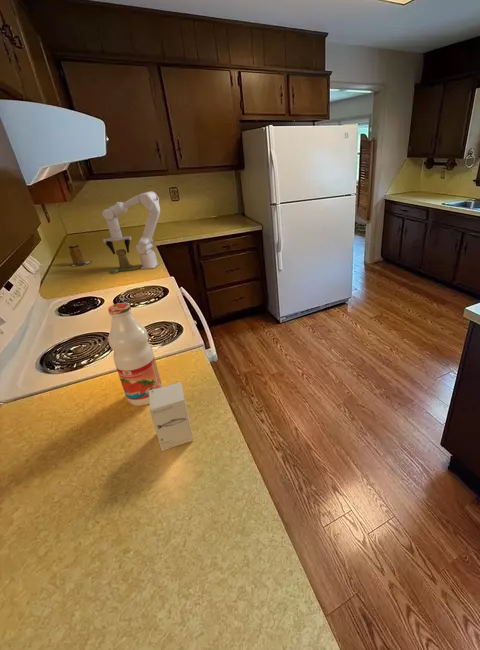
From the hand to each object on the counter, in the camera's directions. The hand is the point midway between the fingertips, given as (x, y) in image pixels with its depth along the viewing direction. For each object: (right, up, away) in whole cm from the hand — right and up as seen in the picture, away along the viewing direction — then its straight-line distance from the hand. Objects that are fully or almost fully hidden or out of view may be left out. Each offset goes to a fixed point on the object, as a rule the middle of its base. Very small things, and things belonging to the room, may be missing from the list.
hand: (121, 253), depth 195 cm
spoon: (+2, -11, -2) cm, 12 cm away
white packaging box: (+76, -62, -116) cm, 152 cm away
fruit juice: (+63, -56, -102) cm, 132 cm away
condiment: (-33, -5, +14) cm, 36 cm away
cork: (0, -8, +4) cm, 9 cm away
